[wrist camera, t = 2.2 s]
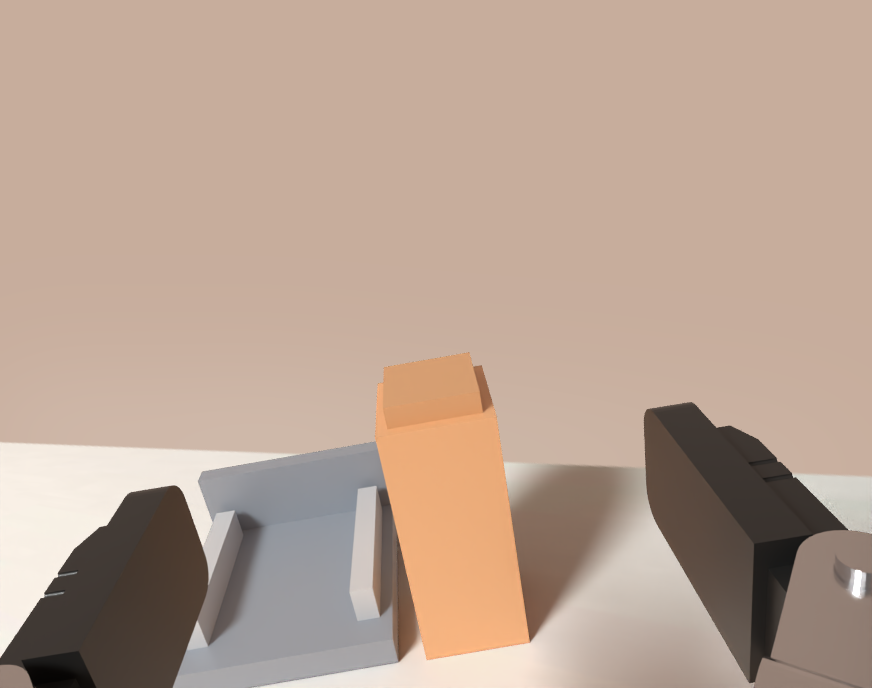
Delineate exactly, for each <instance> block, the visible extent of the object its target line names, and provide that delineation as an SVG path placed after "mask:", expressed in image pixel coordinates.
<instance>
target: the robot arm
mask: <svg viewBox="0 0 872 688" xmlns="http://www.w3.org/2000/svg"><path fill="white" fill-rule="evenodd" d="M644 437H645V460H646V486H647V494H648V500H649V504H650V508H651V511H652V514H653V517H654V519H655V521H656V523H657V525H658V527H659V529H660V530H661V532H662V534H663V536H664V537H665V539H666V541H667V542H668V544H669V546H670V548H671V549H672V551H673V553H674V555H675V556H676V558H677V560H678V561H679V563H680V565H681V567H682V568H683V570H684V572H685V573H686V575H687V577H688V579H689V580H690V582H691V584H692V585H693V587H694V589H695V591H696V592H697V594H698V596H699V597H700V599H701V601H702V603H703V604H704V606H705V608H706V610H707V611H708V613H709V615H710V616H711V618H712V620H713V622H714V623H715V625H716V627H717V628H718V630H719V632H720V634H721V635H722V637H723V639H724V640H725V642H726V644H727V646H728V647H729V649H730V651H731V653H732V654H733V656H734V658H735V659H736V661H737V663H738V665H739V666H740V668H741V670H742V671H743V673H744V675H745V677H746V678H747V680H748V682H749V683H753V682H755V684H754V688H872V534H869V533H864V532H858V531H849V530H848V529H847V528H846V527H845V526H844V525H843V524H842V523H841V522H840V521H839V520H838V519H837V518H836V517H835V516H834V515H833V514H832V513H831V512H830V511H829V510H828V509H827V508H826V507H825V506H824V505H823V504H822V503H821V502H820V501H819V500H818V499H817V498H816V497H815V496H814V495H813V494H812V493H811V492H810V491H809V490H808V489H807V488H806V487H805V486H804V485H803V484H802V483H801V482H800V481H799V480H798V479H797V478H793V476H792V473H791V472H790V471H789V470H788V469H787V468H786V467H785V466H784V465H783V464H782V463H781V462H777V458H776V457H775V456H774V455H773V454H772V453H771V452H770V451H769V450H768V449H767V448H766V447H765V446H764V445H763V444H762V443H761V442H760V441H759V440H758V439H756V438H754V437H752V436H750V435H748V434H746V433H744V432H742V431H740V430H738V429H736V428H734V427H732V426H725V427H719V428H716V427H715V426H714V425H713V424H712V423H711V421H710V420H709V419H708V418H707V417H706V416H705V415H704V414H703V413H702V412H701V410H700V409H699V408H698V407H697V406H696V405H695V404H693V403H692V402H690V403H682V404H677V405H670V406H664V407H658V408H652V409H647V410H646V412H645V416H644ZM208 581H209V573H208V564H207V559H206V556H205V553H204V550H203V547H202V544H201V542H200V539H199V536H198V533H197V530H196V528H195V525H194V522H193V519H192V516H191V513H190V511H189V508H188V505H187V502H186V499H185V497H184V494H183V493H182V491H181V490H180V488H179V487H177V486H167V487H161V488H155V489H148V490H142V491H136V492H131V493H129V494H128V495H127V496H126V497H125V498H124V500H123V502H122V503H121V505H120V506H119V508H118V509H117V511H116V512H115V514H114V516H113V517H112V519H111V520H110V522H109V523H108V525H107V526H103V527H99V528H98V529H97V530H96V531H95V532H94V533H93V534H91V535H90V536H89V537H88V538H87V539H86V540H84V541H83V542H82V543H81V544H80V545H79V546H77V547H76V548H75V549H74V550H73V552H72V553H71V555H70V556H69V557H68V559H67V560H66V562H65V563H64V565H63V566H62V568H61V569H60V571H59V572H58V578H54V580H53V581H52V583H51V584H50V585H49V587H48V588H47V590H46V591H45V593H44V594H45V597H44V598H41V599H40V600H39V602H38V603H37V605H36V606H35V608H34V609H33V611H32V612H31V614H30V615H29V616H28V618H27V619H26V621H25V622H24V624H23V625H22V627H21V628H20V630H19V631H18V633H17V634H16V636H15V637H14V639H13V640H12V642H11V643H10V644H9V646H8V647H7V649H6V650H5V652H4V653H3V655H2V656H1V658H0V688H173V686H174V683H175V680H176V677H177V675H178V672H179V669H180V666H181V664H182V661H183V658H184V655H185V653H186V650H187V647H188V644H189V642H190V639H191V636H192V633H193V631H194V628H195V625H196V622H197V620H198V617H199V614H200V611H201V609H202V606H203V603H204V600H205V598H206V594H207V590H208Z"/></svg>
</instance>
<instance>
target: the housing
mask: <svg viewBox="0 0 872 688" xmlns="http://www.w3.org/2000/svg"><path fill="white" fill-rule="evenodd" d="M198 483H199V486H200V488H201V491H202V494H203V497H204V499H205V502H206V505H207V508H208V510H209V513H210V516H211V519H212V521H213V524H212V526H211V529H210V531H209V534H208V536H207V539H206V541H205V544H204V547H203V550H204V553H205V556H206V559H207V564H208V573H209V581H208V590H207V594H206V598H205V600H204V603H203V606H202V609H201V611H200V614H199V617H198V620H197V622H196V625H195V628H194V631H193V633H192V636H191V639H190V642H189V644H188V647H187V650H186V653H185V655H184V658H183V661H182V664H181V666H180V669H179V672H178V675H177V677H176V680H175V683H174V686H173V688H250V687H256V686H262V685H267V684H273V683H279V682H285V681H291V680H297V679H303V678H308V677H314V676H320V675H326V674H332V673H338V672H344V671H349V670H355V669H361V668H367V667H373V666H379V665H384V664H390V663H396V662H398V567H397V530H396V525H395V521H394V517H393V512H392V508H391V504H390V499H389V495H388V491H387V487H386V482H385V478H384V474H383V469H382V465H381V461H380V456H379V452H378V448H377V443H376V442H370V443H364V444H359V445H353V446H348V447H342V448H336V449H330V450H324V451H318V452H313V453H307V454H301V455H295V456H290V457H284V458H278V459H272V460H267V461H261V462H255V463H249V464H244V465H238V466H232V467H226V468H221V469H215V470H209V471H203V472H202V473H201V476H200V478H199V480H198Z"/></svg>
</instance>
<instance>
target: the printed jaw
mask: <svg viewBox="0 0 872 688" xmlns="http://www.w3.org/2000/svg"><path fill="white" fill-rule="evenodd" d="M375 439H376V443H377V448H378V452H379V456H380V461H381V465H382V469H383V474H384V478H385V482H386V487H387V491H388V495H389V499H390V504H391V508H392V512H393V517H394V521H395V525H396V530H397V534H398V538H399V543H400V547H401V551H402V555H403V560H404V564H405V568H406V573H407V577H408V581H409V586H410V590H411V594H412V599H413V603H414V607H415V612H416V616H417V620H418V624H419V629H420V633H421V637H422V642H423V646H424V650H425V655H426V659H427V660H430V659H436V658H442V657H448V656H453V655H459V654H465V653H471V652H477V651H483V650H489V649H494V648H500V647H506V646H512V645H518V644H524V643H530V641H529V634H528V627H527V620H526V614H525V607H524V600H523V593H522V586H521V579H520V573H519V566H518V559H517V552H516V545H515V539H514V532H513V525H512V518H511V511H510V505H509V498H508V491H507V484H506V477H505V470H504V464H503V457H502V451H501V443H500V437H499V430H498V423H497V416H496V413H495V409H494V407H493V403H492V399H491V396H490V393H489V389H488V386H487V382H486V379H485V375H484V372H483V369H482V366H475V367H473V365H472V361H471V357H470V353H469V352H468V353H463V354H457V355H451V356H446V357H440V358H435V359H428V360H423V361H417V362H412V363H405V364H400V365H394V366H388V367H384V382H383V383H378V390H377V410H376V431H375Z"/></svg>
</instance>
